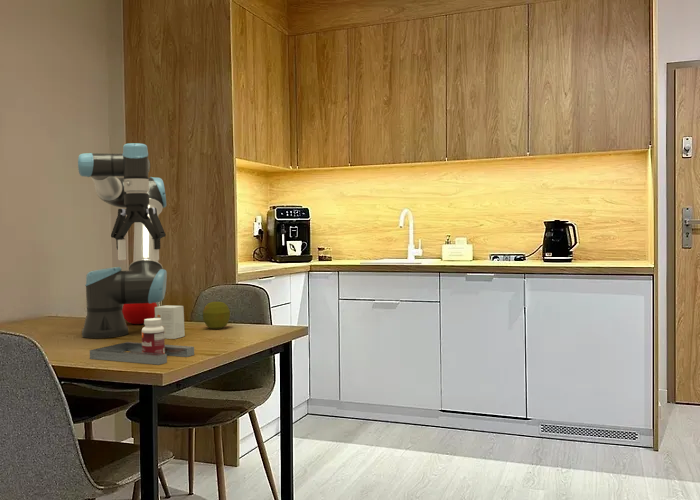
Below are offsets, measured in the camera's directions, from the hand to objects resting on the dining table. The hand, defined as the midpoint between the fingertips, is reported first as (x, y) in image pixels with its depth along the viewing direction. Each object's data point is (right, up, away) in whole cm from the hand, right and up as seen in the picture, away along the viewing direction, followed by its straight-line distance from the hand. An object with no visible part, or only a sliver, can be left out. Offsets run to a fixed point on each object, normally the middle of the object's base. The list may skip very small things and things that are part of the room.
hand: (138, 260), depth 217 cm
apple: (+19, -26, +32) cm, 45 cm away
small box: (+6, -26, +14) cm, 30 cm away
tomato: (-14, -26, +49) cm, 57 cm away
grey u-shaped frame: (+8, -27, -21) cm, 35 cm away
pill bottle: (+11, -28, -23) cm, 37 cm away
